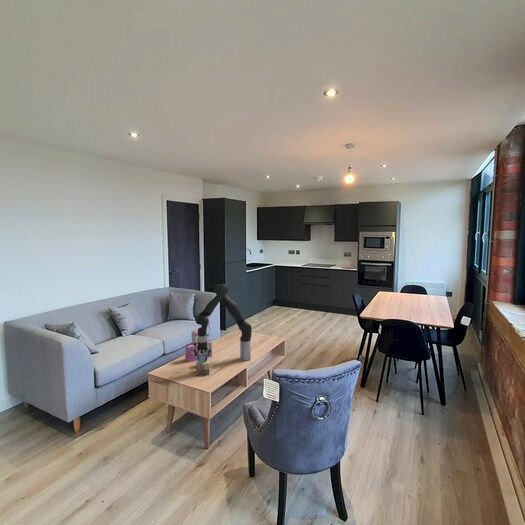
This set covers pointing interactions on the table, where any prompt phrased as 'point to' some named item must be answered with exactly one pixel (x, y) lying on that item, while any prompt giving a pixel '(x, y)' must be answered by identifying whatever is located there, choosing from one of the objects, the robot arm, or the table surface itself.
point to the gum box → (190, 351)
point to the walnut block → (202, 370)
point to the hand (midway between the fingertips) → (202, 360)
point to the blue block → (202, 358)
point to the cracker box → (194, 336)
